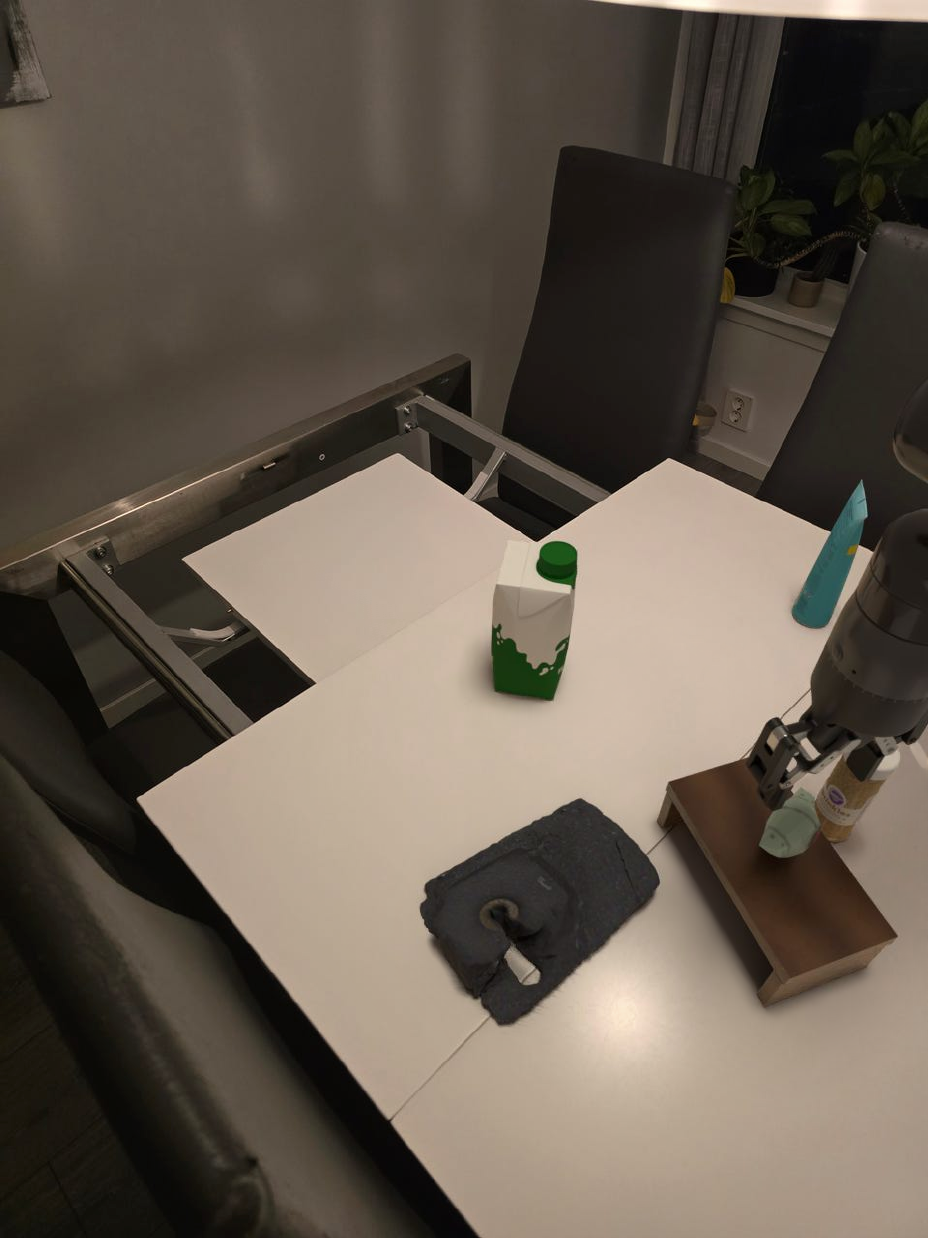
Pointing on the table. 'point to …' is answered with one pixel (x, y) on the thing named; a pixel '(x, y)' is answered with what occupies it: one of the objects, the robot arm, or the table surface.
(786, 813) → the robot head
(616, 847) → the dark slate chunk
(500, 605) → the milk carton
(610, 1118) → the table surface
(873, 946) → the shelf
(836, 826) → the sprinkles bottle
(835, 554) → the tube
